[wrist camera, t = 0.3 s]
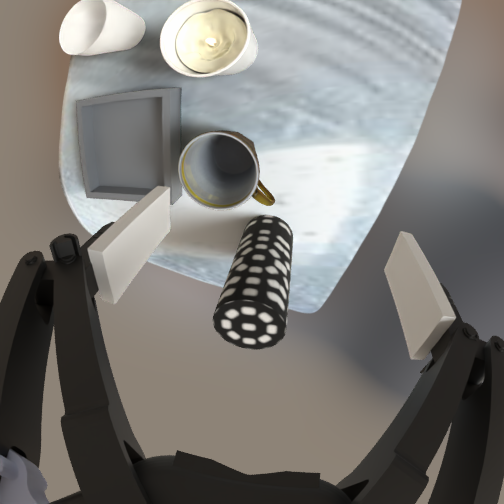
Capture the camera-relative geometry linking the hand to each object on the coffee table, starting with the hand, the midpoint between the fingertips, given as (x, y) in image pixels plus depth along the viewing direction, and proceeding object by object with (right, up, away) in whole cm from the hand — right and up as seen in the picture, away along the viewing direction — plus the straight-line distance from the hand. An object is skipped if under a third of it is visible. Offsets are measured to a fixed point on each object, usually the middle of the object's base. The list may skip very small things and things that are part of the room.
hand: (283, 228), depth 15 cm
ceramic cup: (-3, +13, +26) cm, 29 cm away
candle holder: (-5, +27, +17) cm, 32 cm away
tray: (-22, +17, +26) cm, 38 cm away
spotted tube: (+1, +1, +32) cm, 32 cm away
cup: (-21, +34, +15) cm, 43 cm away
